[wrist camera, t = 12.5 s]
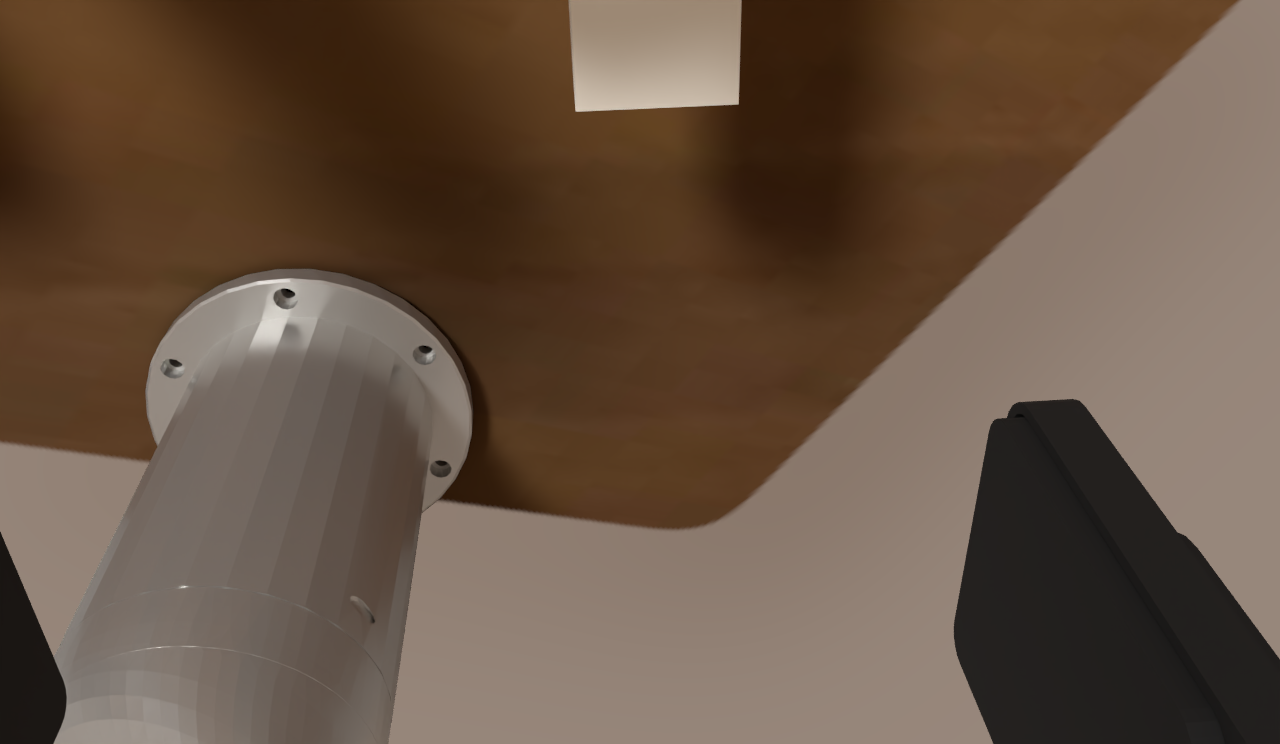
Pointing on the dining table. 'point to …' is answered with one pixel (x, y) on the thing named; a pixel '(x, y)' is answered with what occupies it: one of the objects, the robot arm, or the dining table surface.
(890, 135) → the dining table surface
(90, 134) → the dining table surface
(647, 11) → the ash bar
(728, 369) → the dining table surface
